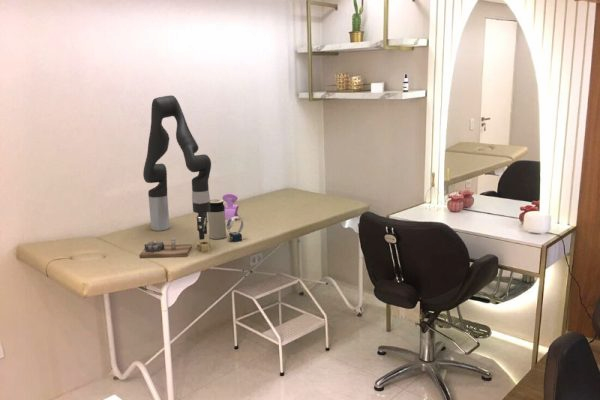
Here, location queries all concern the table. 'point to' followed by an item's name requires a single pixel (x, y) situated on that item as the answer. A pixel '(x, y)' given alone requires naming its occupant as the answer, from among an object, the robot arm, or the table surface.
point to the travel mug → (217, 219)
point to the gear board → (165, 250)
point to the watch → (234, 235)
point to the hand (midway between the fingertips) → (203, 236)
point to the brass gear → (204, 246)
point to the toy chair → (230, 205)
